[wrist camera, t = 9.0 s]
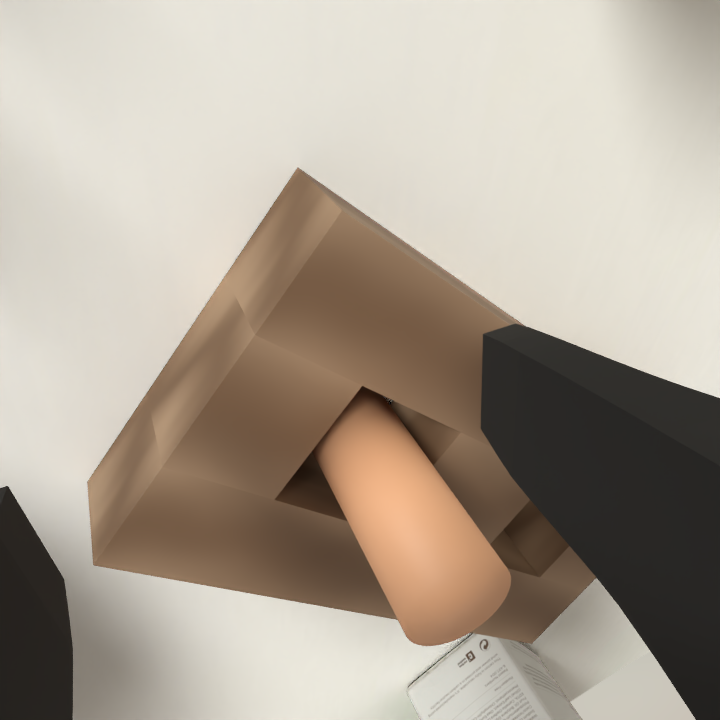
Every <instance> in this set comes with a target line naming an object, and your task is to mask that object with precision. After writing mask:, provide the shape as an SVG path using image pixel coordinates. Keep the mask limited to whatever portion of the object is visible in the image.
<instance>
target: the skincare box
mask: <svg viewBox="0 0 720 720" xmlns="http://www.w3.org/2000/svg"><path fill="white" fill-rule="evenodd" d="M407 694H408V696H409V698H410V700H411V702H412V704H413V706H414V708H415V710H416V712H417V714H418V716H419V718H420V720H582V719H581V717H580V716H579V714H578V713H577V711H576V710H575V709H574V707H573V706H572V704H571V703H570V701H569V700H568V699H567V697H566V696H565V694H564V693H563V691H562V690H561V688H560V687H559V685H558V684H557V683H556V681H555V680H554V678H553V677H552V675H551V674H550V673H549V671H548V670H547V668H546V667H545V665H544V664H543V662H542V661H541V659H540V658H539V657H538V656H537V655H536V654H535V653H533V652H532V651H530V650H529V649H528V648H526V647H525V646H523V645H522V644H521V643H519V642H518V641H514V640H508V639H502V638H497V637H491V636H486V635H480V634H475V633H473V634H472V635H471V636H469V637H468V638H467V639H466V640H464V641H463V642H462V643H461V644H459V645H458V646H457V647H456V648H455V649H453V650H452V651H451V652H449V653H448V654H447V655H446V656H444V657H443V658H442V659H441V660H440V661H438V662H437V663H436V664H435V665H434V666H432V667H431V668H430V669H429V670H428V671H427V672H425V673H424V674H423V675H422V676H421V677H419V678H418V679H417V680H416V681H415V682H414V683H413V684H412V685H410V686H409V687H408V689H407Z"/></svg>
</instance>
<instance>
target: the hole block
mask: <svg viewBox="0 0 720 720" xmlns="http://www.w3.org/2000/svg"><path fill="white" fill-rule="evenodd" d="M515 323H516V324H519V325H523V324H521V323H520V322H518V321H517V320H516V319H514V318H513V317H511V316H510V315H508V314H507V313H506V312H504V311H503V310H501V309H500V308H498V307H497V306H496V305H494V304H493V303H491V302H490V301H488V300H487V299H486V298H484V297H483V296H481V295H480V294H478V293H477V292H476V291H474V290H473V289H471V288H470V287H468V286H467V285H465V284H464V283H463V282H461V281H460V280H458V279H457V278H455V277H454V276H453V275H451V274H450V273H448V272H447V271H445V270H444V269H443V268H441V267H440V266H438V265H437V264H435V263H434V262H433V261H431V260H430V259H428V258H427V257H425V256H424V255H423V254H421V253H420V252H418V251H417V250H415V249H414V248H412V247H411V246H410V245H408V244H407V243H405V242H404V241H402V240H401V239H400V238H398V237H397V236H395V235H394V234H392V233H391V232H390V231H388V230H387V229H385V228H384V227H382V226H381V225H380V224H378V223H377V222H375V221H374V220H372V219H371V218H370V217H368V216H367V215H365V214H364V213H362V212H361V211H359V210H358V209H357V208H355V207H354V206H352V205H351V204H349V203H348V202H347V201H345V200H344V199H342V198H341V197H339V196H338V195H337V194H335V193H334V192H332V191H331V190H329V189H328V188H327V187H325V186H324V185H322V184H321V183H319V182H318V181H317V180H315V179H314V178H312V177H311V176H309V175H308V174H306V173H305V172H304V171H302V170H301V169H299V168H297V170H296V171H295V173H294V174H293V176H292V177H291V179H290V180H289V182H288V183H287V185H286V186H285V188H284V189H283V191H282V192H281V194H280V195H279V196H278V198H277V199H276V201H275V202H274V204H273V205H272V207H271V208H270V210H269V211H268V213H267V214H266V216H265V217H264V219H263V220H262V222H261V223H260V225H259V226H258V228H257V229H256V231H255V232H254V234H253V235H252V237H251V238H250V240H249V241H248V243H247V244H246V246H245V247H244V249H243V250H242V252H241V253H240V255H239V256H238V258H237V259H236V261H235V262H234V264H233V265H232V267H231V268H230V270H229V271H228V273H227V274H226V276H225V277H224V279H223V280H222V282H221V283H220V285H219V286H218V288H217V289H216V291H215V292H214V294H213V295H212V297H211V298H210V300H209V301H208V303H207V304H206V306H205V307H204V309H203V310H202V312H201V313H200V315H199V316H198V318H197V319H196V321H195V322H194V324H193V325H192V327H191V328H190V330H189V331H188V332H187V334H186V335H185V337H184V338H183V340H182V341H181V343H180V344H179V346H178V347H177V349H176V350H175V352H174V353H173V355H172V356H171V358H170V359H169V361H168V362H167V364H166V365H165V367H164V368H163V370H162V371H161V373H160V374H159V376H158V377H157V379H156V380H155V382H154V383H153V385H152V386H151V388H150V389H149V391H148V392H147V394H146V395H145V397H144V398H143V400H142V401H141V403H140V404H139V406H138V407H137V409H136V410H135V412H134V413H133V415H132V416H131V418H130V419H129V421H128V422H127V424H126V425H125V427H124V428H123V430H122V431H121V433H120V434H119V436H118V437H117V439H116V440H115V442H114V443H113V445H112V446H111V448H110V449H109V451H108V452H107V454H106V455H105V457H104V458H103V460H102V461H101V463H100V464H99V465H98V467H97V468H96V470H95V471H94V473H93V474H92V476H91V477H90V479H89V480H88V482H87V483H88V497H89V511H90V525H91V539H92V553H93V565H95V566H101V567H106V568H112V569H117V570H123V571H129V572H134V573H140V574H145V575H151V576H156V577H162V578H168V579H173V580H179V581H184V582H190V583H196V584H201V585H207V586H212V587H218V588H223V589H229V590H235V591H240V592H246V593H251V594H257V595H262V596H268V597H274V598H279V599H285V600H290V601H296V602H302V603H307V604H313V605H318V606H324V607H329V608H335V609H341V610H346V611H352V612H357V613H363V614H368V615H374V616H380V617H385V618H391V619H396V620H398V619H397V617H396V615H395V613H394V611H393V609H392V607H391V605H390V603H389V601H388V599H387V597H386V595H385V593H384V592H383V590H382V588H381V586H380V584H379V582H378V580H377V578H376V576H375V574H374V572H373V570H372V568H371V566H370V564H369V562H368V560H367V558H366V556H365V554H364V552H363V550H362V548H361V546H360V544H359V542H358V540H357V538H356V536H355V535H354V533H353V531H352V529H351V527H350V525H349V523H348V521H347V519H346V517H345V515H344V513H343V511H342V509H341V507H340V505H339V503H338V501H337V499H336V497H335V495H334V493H333V491H332V489H331V487H330V485H329V483H328V481H327V480H326V478H325V476H324V474H323V472H322V470H321V468H320V466H319V464H318V462H317V460H316V458H315V456H314V454H312V453H311V452H312V450H313V449H314V448H315V447H316V445H317V444H318V443H319V441H320V440H321V439H322V438H323V436H324V435H325V434H326V432H327V431H328V430H329V428H330V427H331V426H332V425H333V423H334V422H335V421H336V419H337V418H338V417H339V415H340V414H341V413H342V412H343V410H344V409H345V408H346V406H347V405H348V404H349V403H350V401H351V400H352V399H353V397H354V396H355V395H356V393H357V392H358V391H359V390H360V388H361V387H362V386H364V387H366V388H368V389H370V390H372V391H374V392H377V393H379V394H381V395H383V396H385V397H387V398H389V399H391V400H393V402H392V403H391V405H390V406H391V408H392V409H393V411H394V412H395V413H396V415H397V416H398V417H399V419H400V420H401V422H402V423H403V424H404V426H405V427H406V429H407V430H408V431H409V433H410V434H411V436H412V437H413V438H414V440H415V441H416V442H417V444H418V445H419V447H420V448H421V449H422V451H423V452H424V454H425V455H426V456H427V458H428V459H429V460H430V462H431V463H432V465H433V466H434V467H435V469H436V470H437V472H438V473H439V474H440V476H441V477H442V479H443V480H444V481H445V483H446V484H447V485H448V487H449V488H450V490H451V491H452V492H453V494H454V495H455V497H456V498H457V499H458V501H459V502H460V503H461V505H462V506H463V508H464V509H465V510H466V512H467V513H468V515H469V516H470V517H471V519H472V520H473V521H474V523H475V524H476V526H477V527H478V528H479V530H480V531H481V533H482V534H483V535H484V537H485V538H486V540H487V541H488V542H489V544H490V545H491V546H492V548H493V549H494V551H495V552H496V553H497V555H498V556H499V558H500V559H501V560H502V562H503V563H504V564H505V566H506V567H507V569H508V570H509V572H510V575H511V586H510V589H509V592H508V594H507V596H506V598H505V600H504V601H503V603H502V604H501V606H500V607H499V608H498V609H497V611H496V612H495V613H494V614H493V615H492V616H491V617H490V618H489V619H488V620H486V621H485V622H484V623H483V624H482V625H480V626H479V627H478V628H476V629H475V630H473V631H471V632H470V633H475V634H480V635H486V636H491V637H497V638H502V639H508V640H514V641H519V642H525V643H530V644H532V643H533V642H534V641H535V640H536V639H537V638H538V637H539V636H540V635H541V634H542V633H543V632H544V631H545V630H546V629H547V628H548V627H549V625H550V624H551V623H552V622H553V621H554V620H555V619H556V618H557V617H558V616H559V615H560V614H561V613H562V612H563V611H564V610H565V609H566V608H567V607H568V606H569V605H570V604H571V603H572V602H573V601H574V600H575V599H576V598H577V597H578V596H579V595H580V594H581V593H582V592H583V591H584V590H585V589H586V588H587V587H588V585H589V584H590V583H591V582H592V581H593V580H594V579H595V578H596V576H595V575H594V574H593V573H592V572H591V570H590V569H589V568H588V567H587V566H586V565H585V563H584V562H583V561H582V560H581V559H580V558H579V556H578V555H577V554H576V553H575V552H574V551H573V549H572V548H571V547H570V546H569V545H568V544H567V542H566V541H565V540H564V539H563V538H562V537H561V535H560V534H559V533H558V532H557V531H556V529H555V528H554V527H553V526H552V525H551V524H550V522H549V521H548V520H547V519H546V518H545V517H544V515H543V514H542V513H541V512H540V511H539V510H538V508H537V507H536V506H535V505H534V504H533V502H532V501H531V500H530V499H529V498H528V496H527V495H526V494H525V493H524V492H523V490H522V489H521V488H520V487H519V486H518V484H517V483H516V482H515V481H514V480H513V478H512V477H511V476H510V474H509V473H508V471H507V470H506V468H505V467H504V465H503V463H502V462H501V460H500V459H499V457H498V456H497V454H496V453H495V451H494V450H493V448H492V446H491V445H490V443H489V441H488V440H487V438H486V437H485V435H484V433H483V432H482V430H481V390H482V351H483V334H484V333H487V332H490V331H493V330H496V329H499V328H503V327H506V326H509V325H512V324H515ZM523 326H524V325H523Z"/></svg>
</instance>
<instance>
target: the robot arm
mask: <svg viewBox="0 0 720 720" xmlns="http://www.w3.org/2000/svg"><path fill="white" fill-rule="evenodd" d="M481 430H482V432H483V433H484V435H485V437H486V438H487V440H488V441H489V443H490V445H491V446H492V448H493V450H494V451H495V453H496V454H497V456H498V457H499V459H500V460H501V462H502V463H503V465H504V467H505V468H506V470H507V471H508V473H509V474H510V476H511V477H512V478H513V480H514V481H515V482H516V483H517V484H518V486H519V487H520V488H521V489H522V490H523V492H524V493H525V494H526V495H527V496H528V498H529V499H530V500H531V501H532V502H533V504H534V505H535V506H536V507H537V508H538V510H539V511H540V512H541V513H542V514H543V515H544V517H545V518H546V519H547V520H548V521H549V522H550V524H551V525H552V526H553V527H554V528H555V529H556V531H557V532H558V533H559V534H560V535H561V537H562V538H563V539H564V540H565V541H566V542H567V544H568V545H569V546H570V547H571V548H572V549H573V551H574V552H575V553H576V554H577V555H578V556H579V558H580V559H581V560H582V561H583V562H584V563H585V565H586V566H587V567H588V568H589V569H590V570H591V572H592V573H593V574H594V575H595V576H596V577H597V579H598V580H599V581H600V582H601V584H602V585H603V586H604V587H605V589H606V590H607V591H608V592H609V594H610V595H611V596H612V597H613V599H614V600H615V601H616V603H617V604H618V605H619V607H620V608H621V609H622V611H623V612H624V614H625V615H626V617H627V618H628V619H629V621H630V622H631V624H632V625H633V627H634V628H635V629H636V631H637V632H638V634H639V635H640V637H641V638H642V640H643V641H644V642H645V644H646V645H647V647H648V648H649V650H650V651H651V652H652V654H653V655H654V657H655V658H656V659H657V661H658V663H659V664H660V666H661V667H662V669H663V670H664V672H665V673H666V675H667V676H668V678H669V679H670V681H671V682H672V684H673V685H674V687H675V688H676V690H677V692H678V693H679V694H680V696H681V698H682V699H683V701H684V702H685V704H686V705H687V707H688V708H689V710H690V711H691V713H692V714H693V716H694V717H695V719H696V720H720V398H717V397H714V396H711V395H708V394H705V393H702V392H699V391H696V390H693V389H690V388H687V387H684V386H681V385H678V384H676V383H673V382H670V381H667V380H664V379H662V378H659V377H656V376H653V375H651V374H648V373H645V372H643V371H640V370H637V369H635V368H632V367H629V366H627V365H624V364H622V363H619V362H616V361H614V360H611V359H609V358H606V357H604V356H601V355H599V354H596V353H594V352H591V351H589V350H586V349H583V348H581V347H578V346H576V345H573V344H571V343H568V342H566V341H563V340H561V339H558V338H556V337H553V336H550V335H548V334H545V333H543V332H540V331H537V330H534V329H532V328H529V327H526V326H523V325H519V324H516V323H515V324H512V325H509V326H506V327H503V328H499V329H496V330H493V331H490V332H487V333H484V334H483V351H482V390H481ZM72 713H73V647H72V638H71V629H70V620H69V612H68V605H67V597H66V590H65V583H64V578H63V577H62V575H61V573H60V572H59V570H58V568H57V567H56V565H55V563H54V562H53V560H52V558H51V557H50V555H49V554H48V552H47V550H46V549H45V547H44V545H43V544H42V542H41V540H40V539H39V537H38V535H37V534H36V532H35V530H34V529H33V527H32V525H31V524H30V522H29V520H28V519H27V517H26V515H25V514H24V512H23V510H22V509H21V507H20V505H19V504H18V502H17V500H16V499H15V497H14V495H13V494H12V492H11V490H10V489H9V487H8V486H6V487H3V488H0V720H72Z"/></svg>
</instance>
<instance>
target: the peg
mask: <svg viewBox="0 0 720 720" xmlns="http://www.w3.org/2000/svg"><path fill="white" fill-rule="evenodd" d="M312 452H313V454H314V456H315V458H316V460H317V462H318V464H319V466H320V468H321V470H322V472H323V474H324V476H325V478H326V480H327V481H328V483H329V485H330V487H331V489H332V491H333V493H334V495H335V497H336V499H337V501H338V503H339V505H340V507H341V509H342V511H343V513H344V515H345V517H346V519H347V521H348V523H349V525H350V527H351V529H352V531H353V533H354V535H355V536H356V538H357V540H358V542H359V544H360V546H361V548H362V550H363V552H364V554H365V556H366V558H367V560H368V562H369V564H370V566H371V568H372V570H373V572H374V574H375V576H376V578H377V580H378V582H379V584H380V586H381V588H382V590H383V592H384V593H385V595H386V597H387V599H388V601H389V603H390V605H391V607H392V609H393V611H394V613H395V615H396V617H397V619H398V621H399V623H400V625H401V627H402V629H403V631H404V633H405V635H406V637H407V638H408V639H409V640H410V641H411V642H413V643H415V644H418V645H422V646H434V645H440V644H444V643H448V642H451V641H454V640H456V639H458V638H460V637H462V636H464V635H466V634H468V633H470V632H471V631H473V630H475V629H476V628H478V627H479V626H480V625H482V624H483V623H484V622H485V621H486V620H488V619H489V618H490V617H491V616H492V615H493V614H494V613H495V612H496V611H497V609H498V608H499V607H500V606H501V604H502V603H503V601H504V600H505V598H506V596H507V594H508V592H509V589H510V586H511V575H510V572H509V570H508V569H507V567H506V566H505V564H504V563H503V562H502V560H501V559H500V558H499V556H498V555H497V553H496V552H495V551H494V549H493V548H492V546H491V545H490V544H489V542H488V541H487V540H486V538H485V537H484V535H483V534H482V533H481V531H480V530H479V528H478V527H477V526H476V524H475V523H474V521H473V520H472V519H471V517H470V516H469V515H468V513H467V512H466V510H465V509H464V508H463V506H462V505H461V503H460V502H459V501H458V499H457V498H456V497H455V495H454V494H453V492H452V491H451V490H450V488H449V487H448V485H447V484H446V483H445V481H444V480H443V479H442V477H441V476H440V474H439V473H438V472H437V470H436V469H435V467H434V466H433V465H432V463H431V462H430V460H429V459H428V458H427V456H426V455H425V454H424V452H423V451H422V449H421V448H420V447H419V445H418V444H417V442H416V441H415V440H414V438H413V437H412V436H411V434H410V433H409V431H408V430H407V429H406V427H405V426H404V424H403V423H402V422H401V420H400V419H399V417H398V416H397V415H396V413H395V412H394V411H393V409H392V408H391V406H390V405H389V404H388V402H387V401H386V399H385V398H384V397H383V395H381V394H379V393H377V392H374V391H372V390H370V389H368V388H366V387H364V386H362V387H361V388H360V390H359V391H358V392H357V393H356V395H355V396H354V397H353V399H352V400H351V401H350V403H349V404H348V405H347V406H346V408H345V409H344V410H343V412H342V413H341V414H340V415H339V417H338V418H337V419H336V421H335V422H334V423H333V425H332V426H331V427H330V428H329V430H328V431H327V432H326V434H325V435H324V436H323V438H322V439H321V440H320V441H319V443H318V444H317V445H316V447H315V448H314V449H313V450H312Z"/></svg>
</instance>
